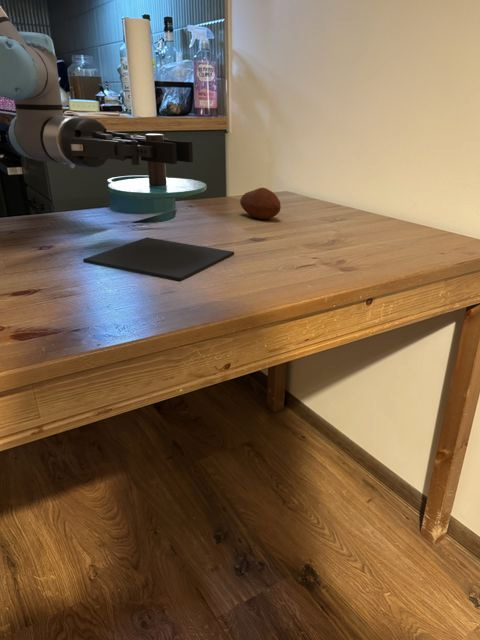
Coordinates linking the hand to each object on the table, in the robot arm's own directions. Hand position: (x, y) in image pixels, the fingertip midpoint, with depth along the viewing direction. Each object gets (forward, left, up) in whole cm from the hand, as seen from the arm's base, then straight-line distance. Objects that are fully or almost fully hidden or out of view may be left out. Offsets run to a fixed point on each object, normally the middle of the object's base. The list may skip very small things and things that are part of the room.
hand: (182, 152), depth 70 cm
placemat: (-5, +1, -16) cm, 17 cm away
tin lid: (-5, +1, -6) cm, 8 cm away
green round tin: (-27, +25, -16) cm, 41 cm away
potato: (-5, +38, -17) cm, 42 cm away
